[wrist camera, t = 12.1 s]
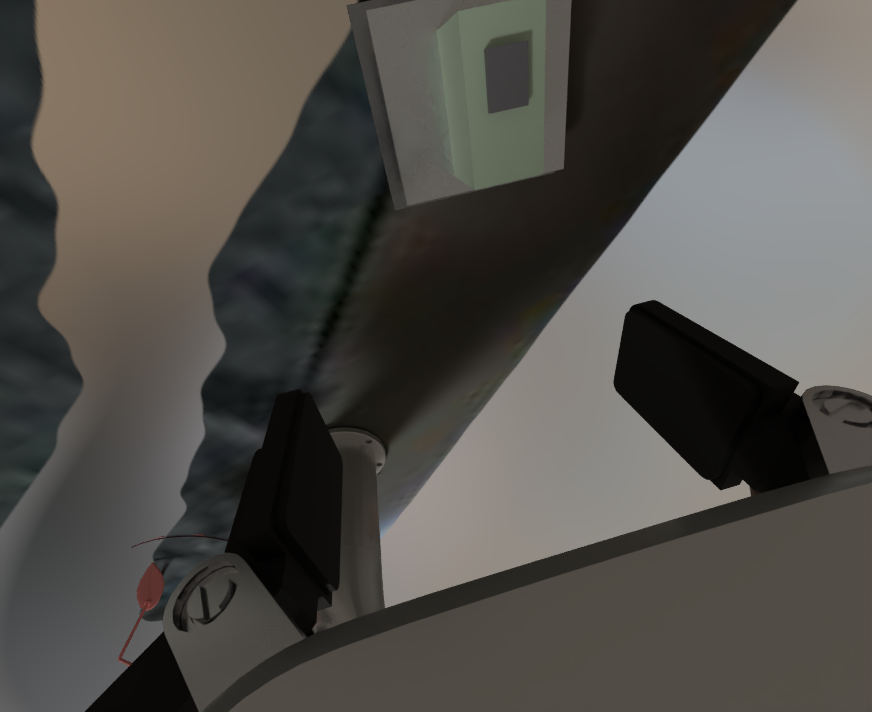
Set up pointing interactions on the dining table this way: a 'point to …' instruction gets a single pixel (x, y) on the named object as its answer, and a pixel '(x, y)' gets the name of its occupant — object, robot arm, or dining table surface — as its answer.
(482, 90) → the pale green block
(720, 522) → the robot arm
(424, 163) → the chassis
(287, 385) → the dining table surface
